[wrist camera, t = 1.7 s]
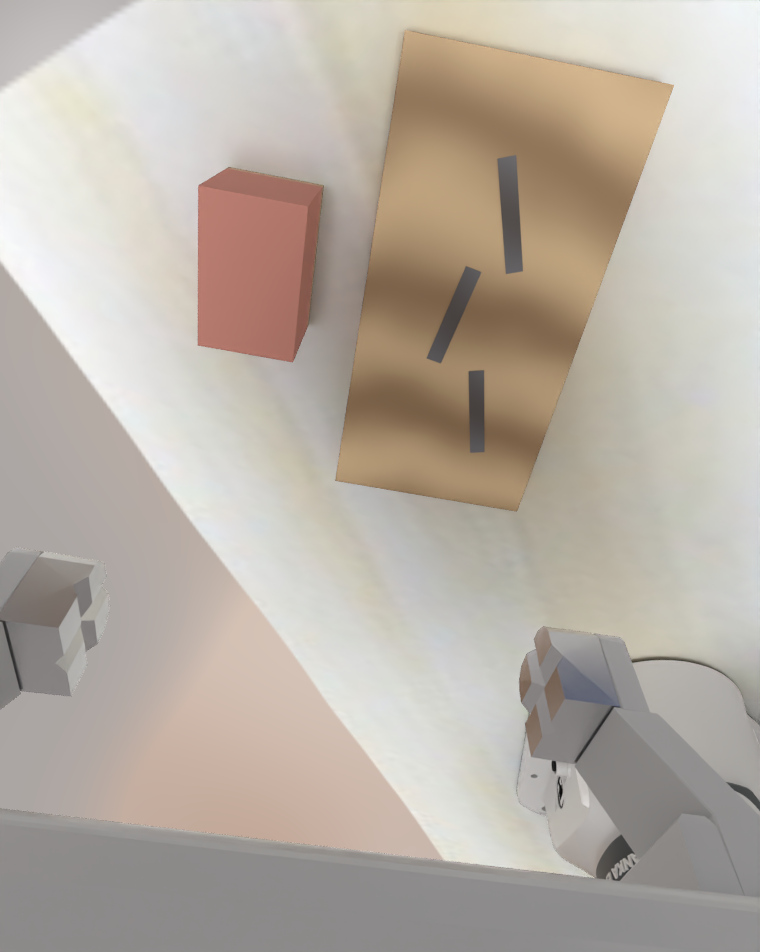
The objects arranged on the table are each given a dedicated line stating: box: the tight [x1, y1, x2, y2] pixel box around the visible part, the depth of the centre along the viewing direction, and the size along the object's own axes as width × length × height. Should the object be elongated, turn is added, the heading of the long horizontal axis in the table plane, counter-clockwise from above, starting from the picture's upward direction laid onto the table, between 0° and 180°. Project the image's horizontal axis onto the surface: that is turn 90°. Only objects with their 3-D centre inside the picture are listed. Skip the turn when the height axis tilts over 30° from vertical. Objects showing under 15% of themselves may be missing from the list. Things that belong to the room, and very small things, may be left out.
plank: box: [335, 30, 674, 511], centre depth 32 cm, size 22×11×2 cm, turn 171°
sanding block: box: [198, 167, 323, 362], centre depth 30 cm, size 7×4×5 cm, turn 170°
